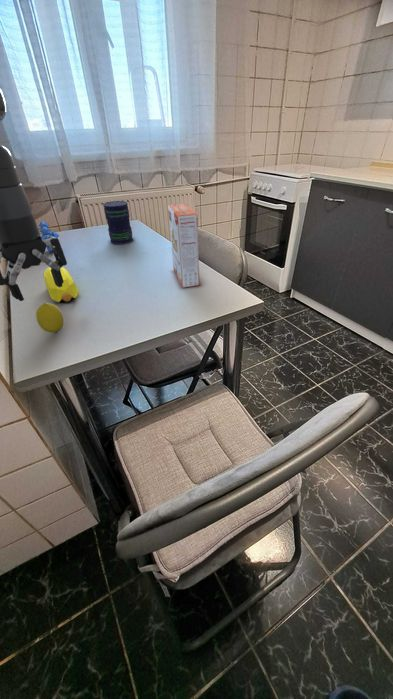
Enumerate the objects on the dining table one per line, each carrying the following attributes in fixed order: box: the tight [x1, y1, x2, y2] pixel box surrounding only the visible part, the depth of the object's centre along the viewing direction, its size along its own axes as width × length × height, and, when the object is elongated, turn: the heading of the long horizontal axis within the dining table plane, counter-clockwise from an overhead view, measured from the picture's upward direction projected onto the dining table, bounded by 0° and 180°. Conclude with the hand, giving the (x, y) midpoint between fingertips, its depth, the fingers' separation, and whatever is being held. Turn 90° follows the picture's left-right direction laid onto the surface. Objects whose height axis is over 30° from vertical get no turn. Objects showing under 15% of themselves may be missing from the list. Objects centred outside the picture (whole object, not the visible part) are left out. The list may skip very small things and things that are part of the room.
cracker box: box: [167, 203, 200, 289], centre depth 89 cm, size 14×6×21 cm, turn 14°
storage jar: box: [103, 200, 134, 245], centre depth 124 cm, size 10×10×15 cm
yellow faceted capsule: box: [43, 266, 80, 303], centre depth 87 cm, size 18×7×8 cm
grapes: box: [38, 220, 60, 253], centre depth 116 cm, size 12×7×12 cm, turn 23°
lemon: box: [35, 302, 64, 334], centre depth 69 cm, size 6×6×8 cm
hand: (40, 292), depth 64 cm, fingers open, 8 cm apart
